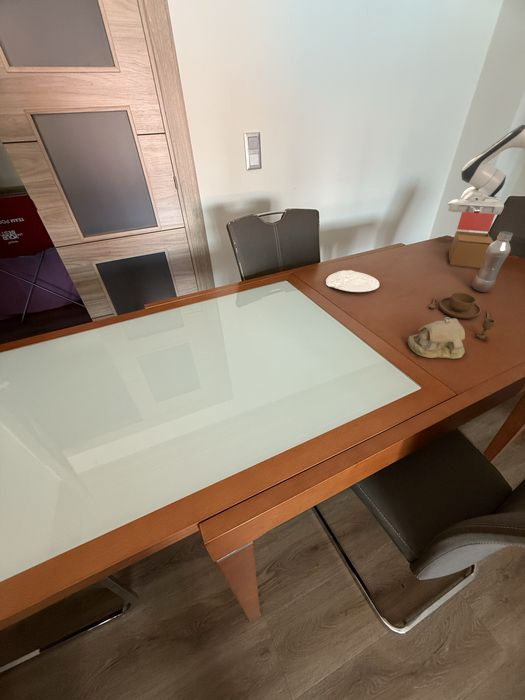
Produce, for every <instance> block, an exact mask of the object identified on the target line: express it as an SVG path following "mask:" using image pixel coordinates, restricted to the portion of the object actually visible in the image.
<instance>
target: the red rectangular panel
mask: <svg viewBox="0 0 525 700" xmlns="http://www.w3.org/2000/svg"><path fill="white" fill-rule="evenodd" d="M495 215H496V214H486V213H470V212H461V214H460V217H459V222H458V225H457V228H456V229H457V230H458V231H471V232H483V233H490V230H491V227H492V224H493V221H494V218H495Z"/></svg>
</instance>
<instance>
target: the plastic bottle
mask: <svg viewBox="0 0 525 700" xmlns="http://www.w3.org/2000/svg"><path fill="white" fill-rule="evenodd" d="M513 235H514V233H513V232H510V231H503V230H502V231H500V232H499V233H498V235H497V237H496V240H495V241H494V240H493V243H492V244H490V245H489V247H488V248H487V251H486V255H485V259H484V261H483V264H482V267H481V268H479V270H478V273H477V274H476V275H475V277H474V278H473V280H472V284H471V286H472V288H473V290H475V291H477V292H480V293H489V292H490V291H492V289H493V288H494V286H495V284H496V279H497V277H498V274H499V271H500V269H501V268H502V265H503V264H504V262H505V261H506V259H507V257H508V256H509V254H510V253H511V249H512V248H511V243H510V241H512V237H513Z"/></svg>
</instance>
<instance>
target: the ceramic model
mask: <svg viewBox="0 0 525 700" xmlns="http://www.w3.org/2000/svg"><path fill="white" fill-rule="evenodd" d="M418 332H419V333H417V334H414V335H413V334H412V335H409V336H408V338H407V345H408V347H409V349H410V350H411V351H412V352H414V353H415V354H417V355H418V356H420V357H424V358H429V359H435V358H441V359H461V358H462V357H463V356H464V354H465V352H466V351H465V348H464V344H463V341H464V340H465V339H466V333H465V332H466V331H465V328H464V327H463V325H461V323H460V322H459V320H458V318H455V317H452V318H451V317H450V316H446V317H444V318H443V320H434V321H433V322H430V323H428V324H425V325H422V326H420V328H419V329H418Z"/></svg>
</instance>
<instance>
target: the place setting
mask: <svg viewBox="0 0 525 700" xmlns="http://www.w3.org/2000/svg"><path fill="white" fill-rule="evenodd" d="M435 302H436V298H435V297H434V298H433V299H432V303H431V304H429V306H428V307H429V308H430V309H435V308H436V304H435ZM476 302H477V299H476V297H475V296H473V295H471V294H470V293H466V292H453V293H452V294H451V295H450V296H448V297H444V298H441V299H440V300H439V301H438V306H439V309H440V311H441V312H443V313H444V314H446V315H448V317H452V318H456V319H461V320H463V319H464V320H470V319H475V318H477V317H478V316H480V314H481V312H482V308H481V306H480V305H479V304H477V303H476ZM495 323H496V320H495V319H493V318H491V317H490V311H489V310H487V311H486V318H484V321H483V322H482V325H481V326H482V329H483V330H482V331H481V333H476V334H475V337H476V339H478V340H480V341H486V340H488V336H486V334H487V331H489V330H490V331H491V330H492V328H493V327H494V326H495Z"/></svg>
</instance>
